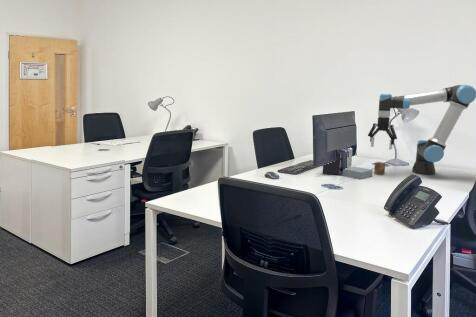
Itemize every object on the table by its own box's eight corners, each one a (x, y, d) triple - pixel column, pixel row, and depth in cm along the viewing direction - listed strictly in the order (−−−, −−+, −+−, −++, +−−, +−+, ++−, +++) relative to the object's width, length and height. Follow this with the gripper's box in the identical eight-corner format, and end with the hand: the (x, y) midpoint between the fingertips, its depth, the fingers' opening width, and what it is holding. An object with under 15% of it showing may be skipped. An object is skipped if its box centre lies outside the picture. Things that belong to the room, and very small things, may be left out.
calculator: (338, 173, 284) (339, 152, 281) (339, 175, 280) (340, 153, 277) (322, 173, 285) (323, 151, 282) (323, 174, 281) (324, 152, 278)
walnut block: (384, 174, 285) (385, 162, 283) (380, 175, 281) (381, 163, 280) (377, 173, 288) (378, 161, 287) (374, 174, 285) (374, 162, 284)
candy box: (337, 167, 306) (338, 145, 303) (344, 167, 307) (346, 145, 304) (343, 171, 293) (344, 148, 290) (351, 171, 293) (352, 148, 290)
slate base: (372, 177, 277) (372, 169, 276) (360, 180, 268) (361, 172, 267) (354, 173, 287) (354, 166, 286) (342, 176, 278) (342, 168, 277)
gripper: (364, 115, 284) (362, 146, 288) (398, 118, 266) (395, 150, 270) (370, 115, 289) (367, 145, 293) (404, 118, 271) (401, 149, 275)
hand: (381, 148), depth 282 cm, fingers open, 13 cm apart
